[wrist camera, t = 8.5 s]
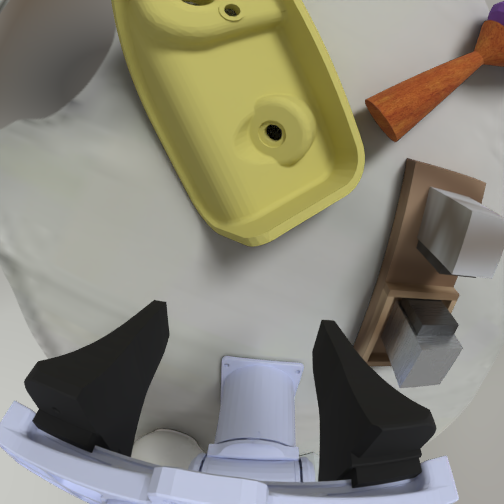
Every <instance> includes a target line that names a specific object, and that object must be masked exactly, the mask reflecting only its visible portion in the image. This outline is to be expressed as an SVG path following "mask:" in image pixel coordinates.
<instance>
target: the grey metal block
mask: <svg viewBox="0 0 504 504" xmlns="http://www.w3.org/2000/svg"><path fill="white" fill-rule="evenodd" d="M457 327H458V323H457V322H456V320H455V319H454V317H453V316H452V315H451V313H450V312H449V310H448V309H447V308H446V306H445V305H444V303H443V302H442V301H441V300H434V299H417V298H402V300H401V301H396V302H395V304H394V307H393V309H392V312H391V314H390V317H389V319H388V322H387V324H386V327H385V329H384V331H383V334H382V336H381V339H382V341H383V344H384V347H385V349H386V352H387V354H388V357H389V360H390V362H391V365H392V368H393V371H394V373H395V376H396V379H397V382H398V385H399V387H400V388H407V387H418V386H428V385H437V384H440V383H441V381H442V380H443V379H444V377H445V376H446V374H447V373H448V371H449V370H450V368H451V366H452V365H453V363H454V362H455V360H456V359H457V357H458V355H459V354H460V352H461V350H462V349H463V347H462V346H461V344H460V342H459V341H458V339H457V338H456V336H455V334H454V333H455V331H456V329H457Z"/></svg>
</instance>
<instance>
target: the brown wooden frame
mask: <svg viewBox="0 0 504 504" xmlns="http://www.w3.org/2000/svg"><path fill="white" fill-rule="evenodd" d="M485 186H486V183H484V182H482V181H480V180H478V179H475V178H472V177H469V176H466V175H463V174H460V173H457V172H454V171H451V170H447V169H444V168H441V167H437V166H434V165H430V164H427V163H423V162H420V161H416V160H412V159H408V158H407V161H406V167H405V172H404V178H403V183H402V187H401V192H400V197H399V201H398V206H397V210H396V214H395V218H394V223H393V226H392V230H391V234H390V238H389V242H388V245H387V249H386V252H385V256H384V259H383V263H382V266H381V269H380V273H379V276H378V279H377V282H376V285H375V288H374V291H373V294H372V297H371V300H370V303H369V306H368V309H367V312H366V315H365V317H364V320H363V323H362V325H361V328H360V331H359V333H358V336H357V338H356V341H355V344H354V346H353V347H354V348H355V350H356V351H357V352H358V354H359V355H360V356H361V357H362V358H363V359H364V361H365V362H366V363H367V364H368V365H369V366H392V365H391V362H390V360H389V357H388V354H387V352H386V349H385V347H384V344H383V341H382V339H381V336H382V334H383V331H384V329H385V327H386V324H387V322H388V319H389V317H390V314H391V312H392V309H393V307H394V304H395V302H396V301H401V300H402V298H417V299H434V300H441V301H442V302H443V303H444V305H445V306H446V308H447V309H448V310H449V312H450V313H451V312H452V310H453V308H454V306H455V304H456V301H457V299H458V297H459V293H458V292H457V291H456V290H455V289H454V285H455V282H456V280H457V277H458V276H463V277H473V278H476V277H482V278H491V279H492V278H493V276H494V273H495V271H496V268H497V266H498V263H499V260H500V258H501V255H502V252H503V249H504V217H502V216H501V215H499V214H498V213H496V212H494V211H493V210H491V209H489V208H487V207H486V206H484V205H482V204H481V203H482V199H483V195H484V190H485Z"/></svg>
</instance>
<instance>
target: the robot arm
mask: <svg viewBox="0 0 504 504" xmlns="http://www.w3.org/2000/svg"><path fill="white" fill-rule="evenodd" d="M168 338H169V326H168V316H167V305H166V302H162V301H156V300H154V301H153V302H151V303H150V304H149V305H147V306H146V307H145V308H144V309H142V310H141V311H140V312H139V313H137V314H136V315H135V316H134V317H132V318H131V319H130V320H128V321H127V322H126V323H124V324H123V325H121V326H120V327H118V328H117V329H116V330H114V331H113V332H111V333H110V334H108V335H106V336H105V337H103V338H101V339H99V340H98V341H96V342H94V343H92V344H90V345H87V346H85V347H83V348H81V349H79V350H76V351H74V352H71V353H68V354H65V355H62V356H59V357H55V358H51V359H47V360H42V361H38V362H37V363H36V365H35V366H34V368H33V369H32V371H31V372H30V373H29V375H28V376H27V377H26V379H25V381H24V383H25V388H26V390H27V392H28V393H29V395H30V396H31V398H32V399H33V401H34V402H35V404H36V405H37V407H38V408H39V410H38V412H37V413H35V412H34V411H33V410H31V409H29V408H28V407H26V406H24V405H22V404H20V403H19V402H17V401H14V402H13V403H12V405H11V406H10V408H9V409H8V411H7V413H6V414H5V416H4V417H3V419H2V421H1V422H0V447H1V448H2V449H3V450H5V452H6V453H7V454H9V455H10V456H11V457H12V458H13V459H14V460H15V461H16V462H17V463H19V464H20V465H22V466H23V467H25V468H26V469H28V470H29V471H31V472H33V473H34V474H36V475H38V476H39V477H41V478H43V479H44V480H46V481H48V482H49V483H51V484H53V485H55V486H56V487H58V488H60V489H62V490H64V491H66V492H68V493H69V494H71V495H73V496H75V497H77V498H79V499H81V500H83V501H85V502H87V503H90V504H452V503H454V502H456V501H458V499H459V497H458V493H457V489H456V486H455V482H454V478H453V475H452V471H451V467H450V464H449V461H448V458H447V456H441V457H438V458H434V459H430V460H426V461H424V462H422V463H420V461H419V457H421V455H422V453H421V450H420V448H421V447H422V446H423V445H424V444H425V443H426V442H427V441H428V440H429V439H430V438H431V437H432V436H433V435H434V433H435V431H436V425H435V422H434V419H433V417H432V414H431V412H430V410H429V409H427V408H425V407H423V406H421V405H419V404H417V403H416V402H414V401H412V400H410V399H409V398H407V397H406V396H404V395H403V394H401V393H400V392H398V391H397V390H396V389H394V388H393V387H392V386H391V385H389V384H388V383H387V382H386V381H385V380H383V379H382V378H381V377H380V376H379V375H378V374H377V373H376V372H375V371H374V370H373V369H372V368H371V367H370V366H369V365H368V364H367V363H366V362H365V361H364V359H363V358H362V357H361V356H360V355H359V354H358V352H357V351H356V350H355V348H354V347H353V346H352V345H351V343H350V342H349V341H348V339H347V338H346V336H345V335H344V334H343V332H342V331H341V329H340V328H339V326H338V325H337V324H336V322H335V321H332V320H322V321H321V324H320V328H319V331H318V334H317V338H316V341H315V345H314V348H313V351H312V355H313V374H314V380H315V387H316V393H317V399H318V406H319V415H320V457H319V473H318V482H316V481H315V470H314V465H313V463H312V462H311V461H309V460H308V458H307V457H300V458H299V448H298V447H296V440H295V405H294V397H295V394H296V391H297V388H298V385H299V382H300V379H301V376H302V372H303V369H304V365H303V364H302V363H295V362H281V361H269V360H259V359H249V358H240V357H232V356H224V357H223V358H222V368H221V408H220V413H219V419H218V425H217V430H216V436H215V442H214V444H209V446H208V451H207V454H206V453H200V454H198V455H197V457H195V458H194V459H193V460H192V461H191V463H190V465H189V467H188V469H183V468H178V467H171V466H160V465H156V464H153V463H149V462H145V461H142V460H138V459H135V458H131V455H132V449H133V443H134V438H135V434H136V429H137V425H138V421H139V417H140V413H141V409H142V406H143V403H144V399H145V396H146V393H147V390H148V388H149V385H150V383H151V381H152V379H153V377H154V374H155V372H156V370H157V368H158V365H159V363H160V361H161V359H162V356H163V354H164V352H165V348H166V345H167V342H168ZM226 363H227V364H226ZM297 370H299V371H297Z"/></svg>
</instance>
